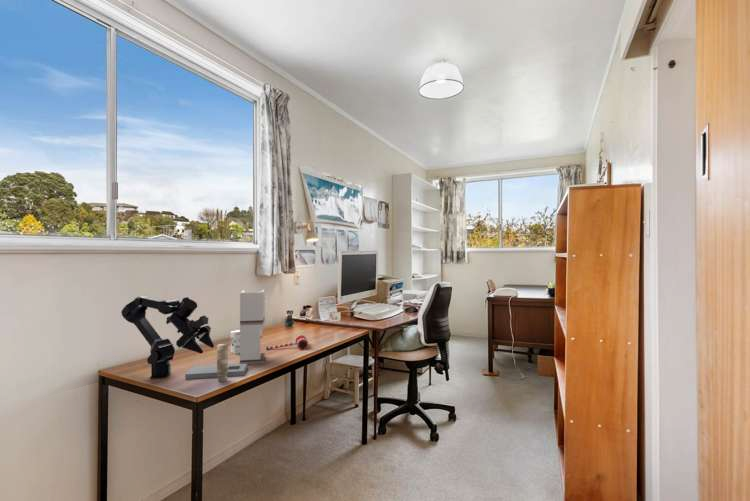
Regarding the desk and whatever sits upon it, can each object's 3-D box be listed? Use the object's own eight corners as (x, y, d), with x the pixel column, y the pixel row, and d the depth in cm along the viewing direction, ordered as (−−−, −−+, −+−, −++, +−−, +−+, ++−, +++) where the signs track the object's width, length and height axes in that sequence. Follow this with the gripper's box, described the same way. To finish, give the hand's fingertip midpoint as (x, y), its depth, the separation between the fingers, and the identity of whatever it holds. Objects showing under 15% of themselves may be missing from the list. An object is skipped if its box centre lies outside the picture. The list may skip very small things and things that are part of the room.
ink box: (244, 349, 207) (244, 328, 207) (249, 351, 204) (249, 329, 204) (230, 352, 201) (230, 331, 201) (234, 354, 197) (234, 332, 197)
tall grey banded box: (262, 363, 182) (262, 292, 182) (239, 364, 180) (240, 292, 180) (264, 356, 193) (264, 289, 193) (243, 358, 191) (243, 290, 191)
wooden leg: (216, 382, 156) (216, 346, 156) (218, 378, 160) (218, 344, 160) (226, 381, 156) (226, 346, 156) (228, 378, 161) (228, 343, 161)
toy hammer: (266, 353, 201) (266, 341, 201) (266, 347, 212) (266, 336, 212) (308, 350, 208) (308, 338, 208) (306, 345, 219) (306, 334, 219)
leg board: (185, 379, 159) (185, 374, 159) (192, 370, 170) (192, 366, 170) (243, 375, 164) (243, 370, 164) (247, 367, 175) (247, 363, 175)
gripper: (183, 314, 149) (210, 342, 149) (206, 307, 168) (230, 331, 167) (164, 333, 150) (191, 361, 149) (190, 324, 168) (213, 349, 168)
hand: (207, 349), depth 158 cm, fingers open, 9 cm apart
